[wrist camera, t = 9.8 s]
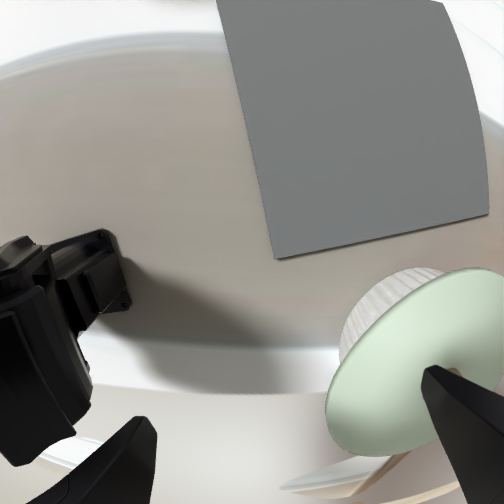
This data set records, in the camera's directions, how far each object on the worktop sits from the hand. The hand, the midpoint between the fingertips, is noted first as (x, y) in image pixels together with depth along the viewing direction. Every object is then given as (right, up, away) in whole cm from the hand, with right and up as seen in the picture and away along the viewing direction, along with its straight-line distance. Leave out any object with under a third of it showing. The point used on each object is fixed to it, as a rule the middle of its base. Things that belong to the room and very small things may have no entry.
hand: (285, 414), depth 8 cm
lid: (+11, -4, +8) cm, 14 cm away
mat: (+8, +15, +9) cm, 19 cm away
